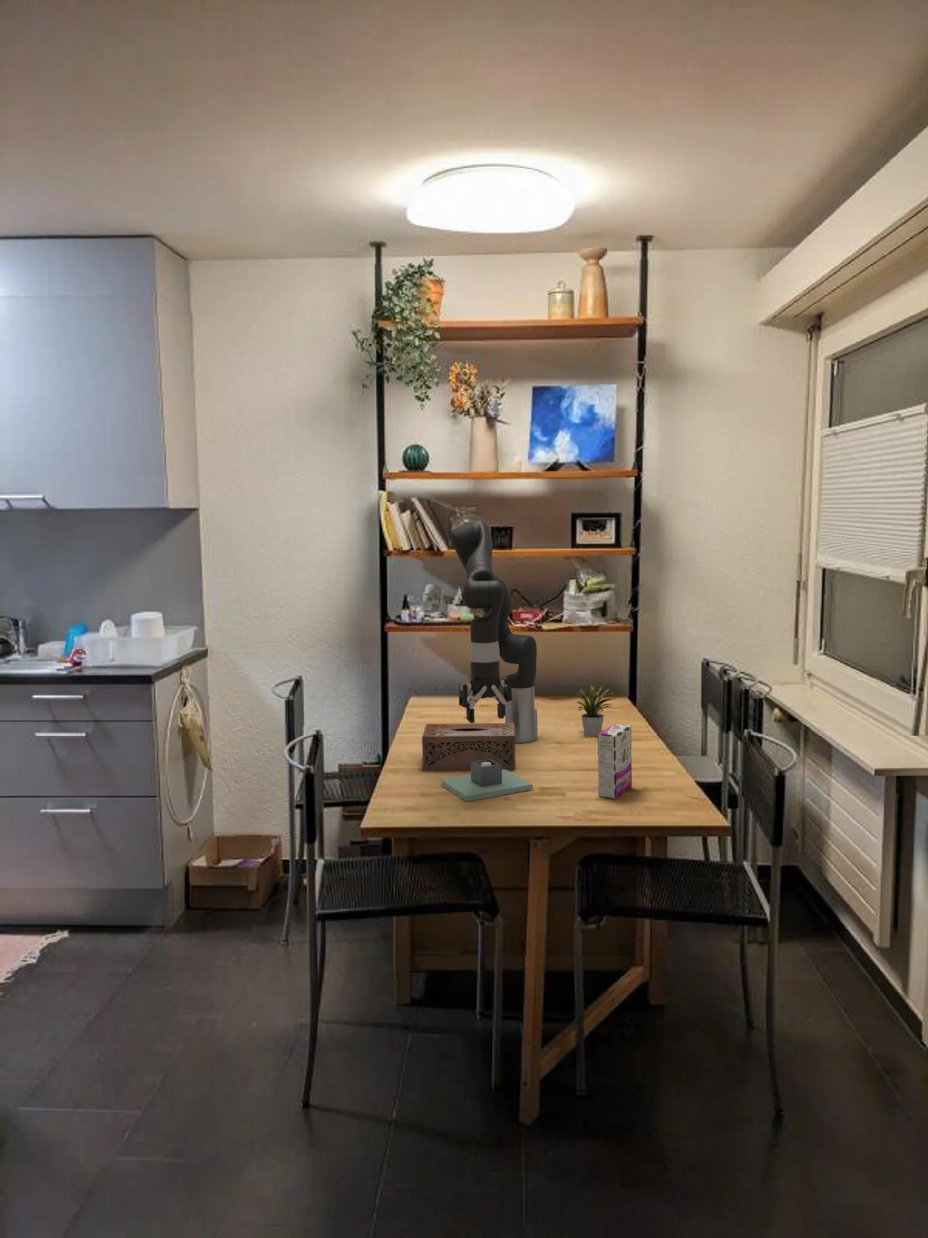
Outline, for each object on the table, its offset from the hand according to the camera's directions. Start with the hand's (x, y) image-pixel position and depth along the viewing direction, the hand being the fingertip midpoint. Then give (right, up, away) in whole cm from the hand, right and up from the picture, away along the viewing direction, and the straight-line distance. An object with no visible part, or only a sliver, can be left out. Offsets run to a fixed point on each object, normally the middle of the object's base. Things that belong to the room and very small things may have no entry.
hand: (486, 720), depth 226 cm
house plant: (+35, -11, +52) cm, 63 cm away
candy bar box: (+33, -18, -3) cm, 38 cm away
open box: (0, -16, +2) cm, 16 cm away
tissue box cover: (-4, -16, +25) cm, 30 cm away
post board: (0, -18, +2) cm, 18 cm away
